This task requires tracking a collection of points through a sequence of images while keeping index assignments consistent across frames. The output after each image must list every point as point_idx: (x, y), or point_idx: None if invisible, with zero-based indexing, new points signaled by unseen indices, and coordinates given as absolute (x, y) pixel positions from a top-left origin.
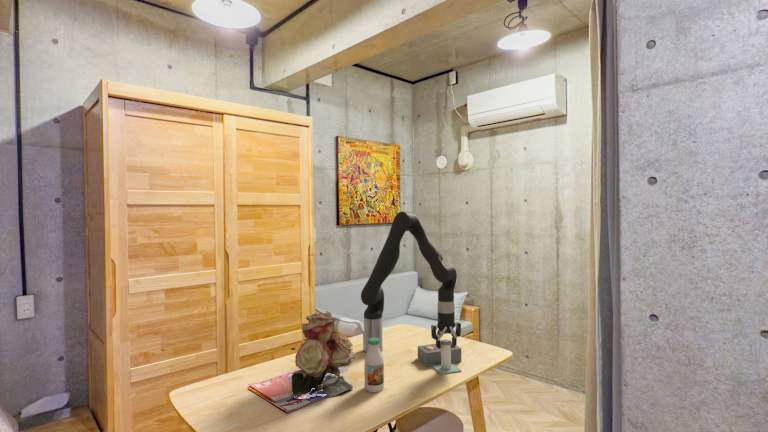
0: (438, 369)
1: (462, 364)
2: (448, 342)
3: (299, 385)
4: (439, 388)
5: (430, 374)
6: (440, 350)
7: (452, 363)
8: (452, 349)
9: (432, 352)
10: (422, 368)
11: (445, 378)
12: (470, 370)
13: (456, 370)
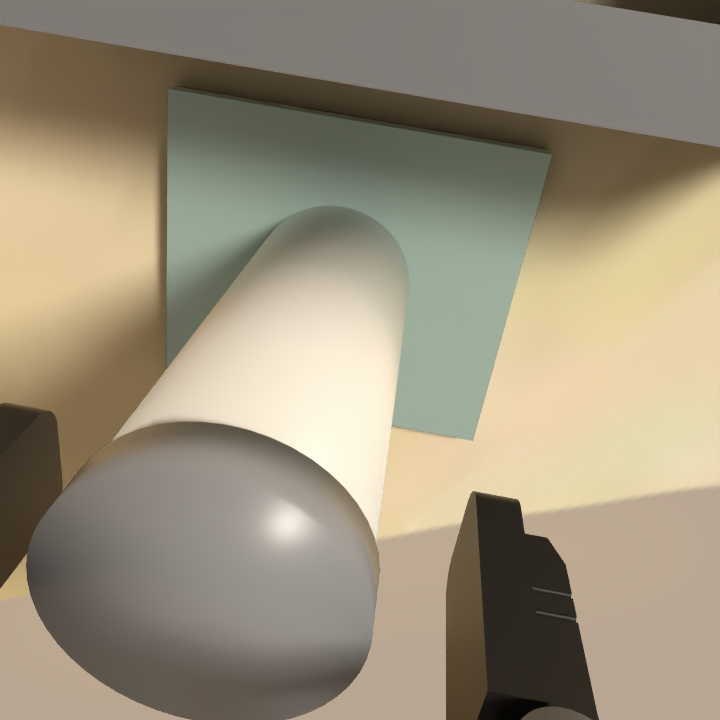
0: (195, 271)
1: (687, 257)
2: (212, 711)
3: None
4: (21, 580)
5: (50, 299)
6: (376, 29)
7: (539, 192)
8: (708, 131)
9: (116, 43)
10: (6, 56)
11: None
12: (603, 461)
13: (409, 415)
